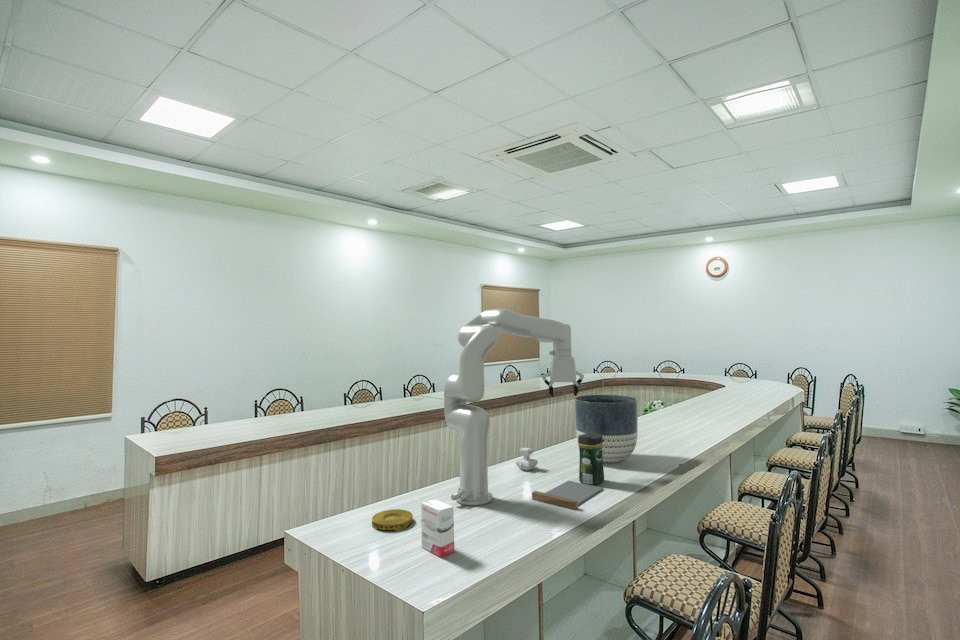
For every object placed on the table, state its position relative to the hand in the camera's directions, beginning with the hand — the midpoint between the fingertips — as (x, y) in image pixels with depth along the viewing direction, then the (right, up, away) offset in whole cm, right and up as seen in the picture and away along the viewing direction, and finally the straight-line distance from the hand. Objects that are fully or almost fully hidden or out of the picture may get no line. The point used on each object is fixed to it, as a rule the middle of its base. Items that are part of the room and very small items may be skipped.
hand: (563, 395), depth 190 cm
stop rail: (-10, -30, -37) cm, 49 cm away
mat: (-2, -30, -28) cm, 41 cm away
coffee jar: (+8, -30, -16) cm, 35 cm away
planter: (+22, -31, +14) cm, 40 cm away
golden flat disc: (-61, -31, -51) cm, 85 cm away
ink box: (-45, -29, -68) cm, 87 cm away
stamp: (-15, -31, +2) cm, 35 cm away
